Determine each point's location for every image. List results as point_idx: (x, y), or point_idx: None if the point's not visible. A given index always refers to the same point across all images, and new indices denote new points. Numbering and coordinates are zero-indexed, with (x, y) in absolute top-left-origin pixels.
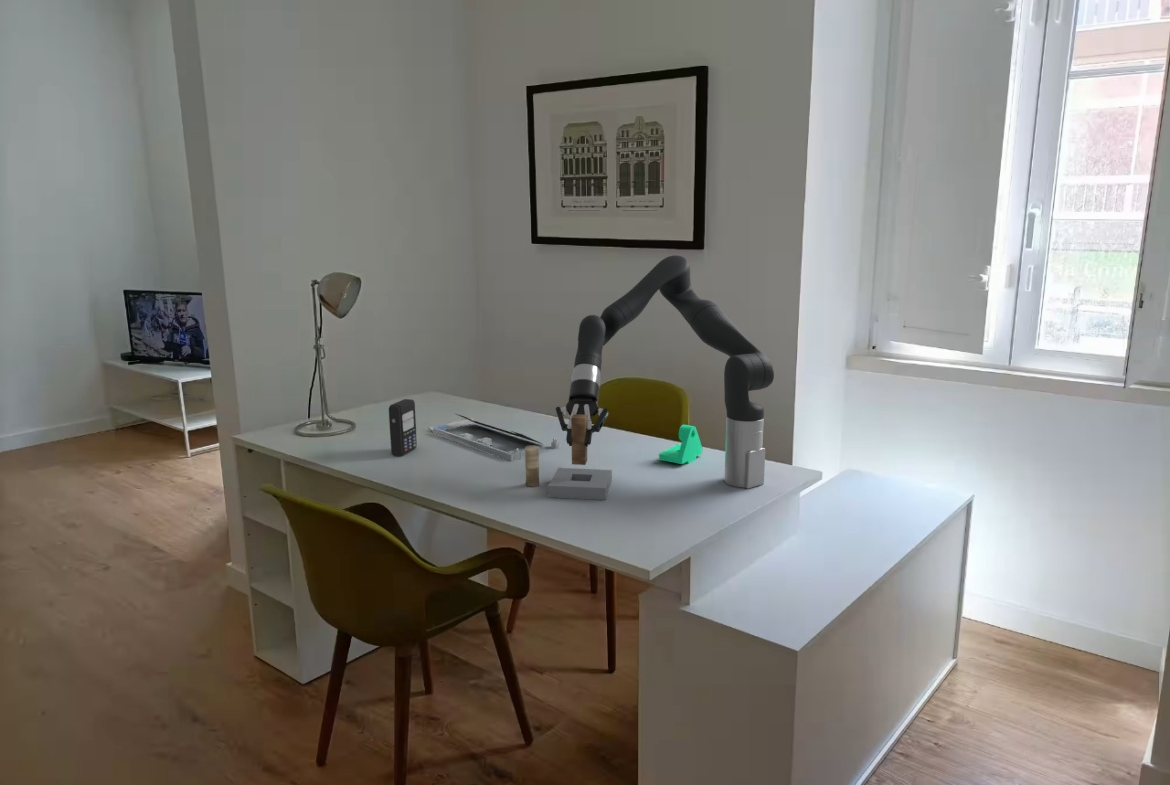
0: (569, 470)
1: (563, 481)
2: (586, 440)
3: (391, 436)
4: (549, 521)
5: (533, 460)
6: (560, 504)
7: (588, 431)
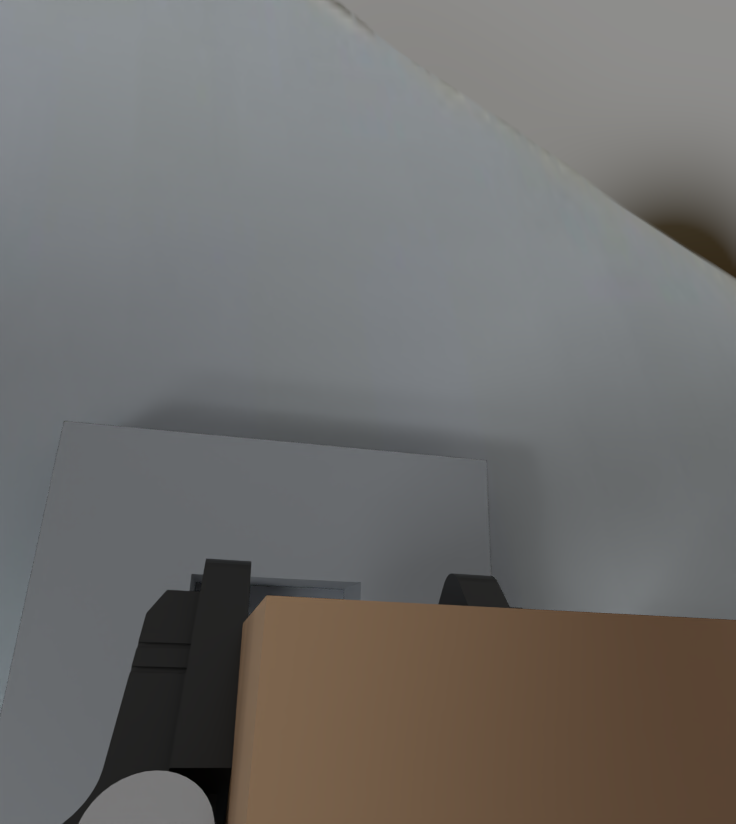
0: None
1: (399, 553)
2: (215, 579)
3: None
4: (386, 161)
5: None
6: (368, 369)
7: (171, 767)
